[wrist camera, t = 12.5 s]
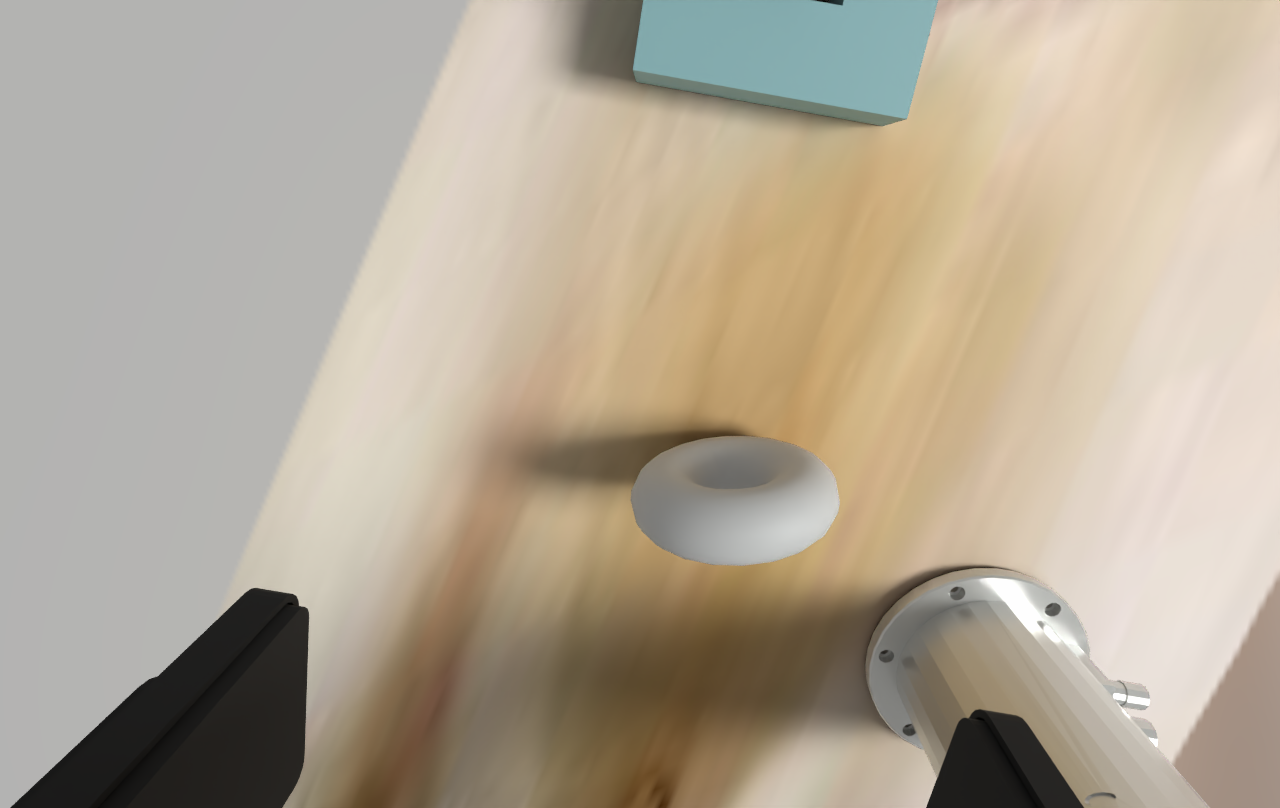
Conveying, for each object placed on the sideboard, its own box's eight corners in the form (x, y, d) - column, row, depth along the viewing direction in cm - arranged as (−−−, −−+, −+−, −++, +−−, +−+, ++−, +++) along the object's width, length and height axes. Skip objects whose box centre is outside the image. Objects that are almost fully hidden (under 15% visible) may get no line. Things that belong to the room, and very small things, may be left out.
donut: (637, 490, 40) (628, 586, 30) (632, 433, 39) (621, 512, 29) (816, 480, 39) (864, 574, 30) (815, 421, 38) (866, 499, 29)
